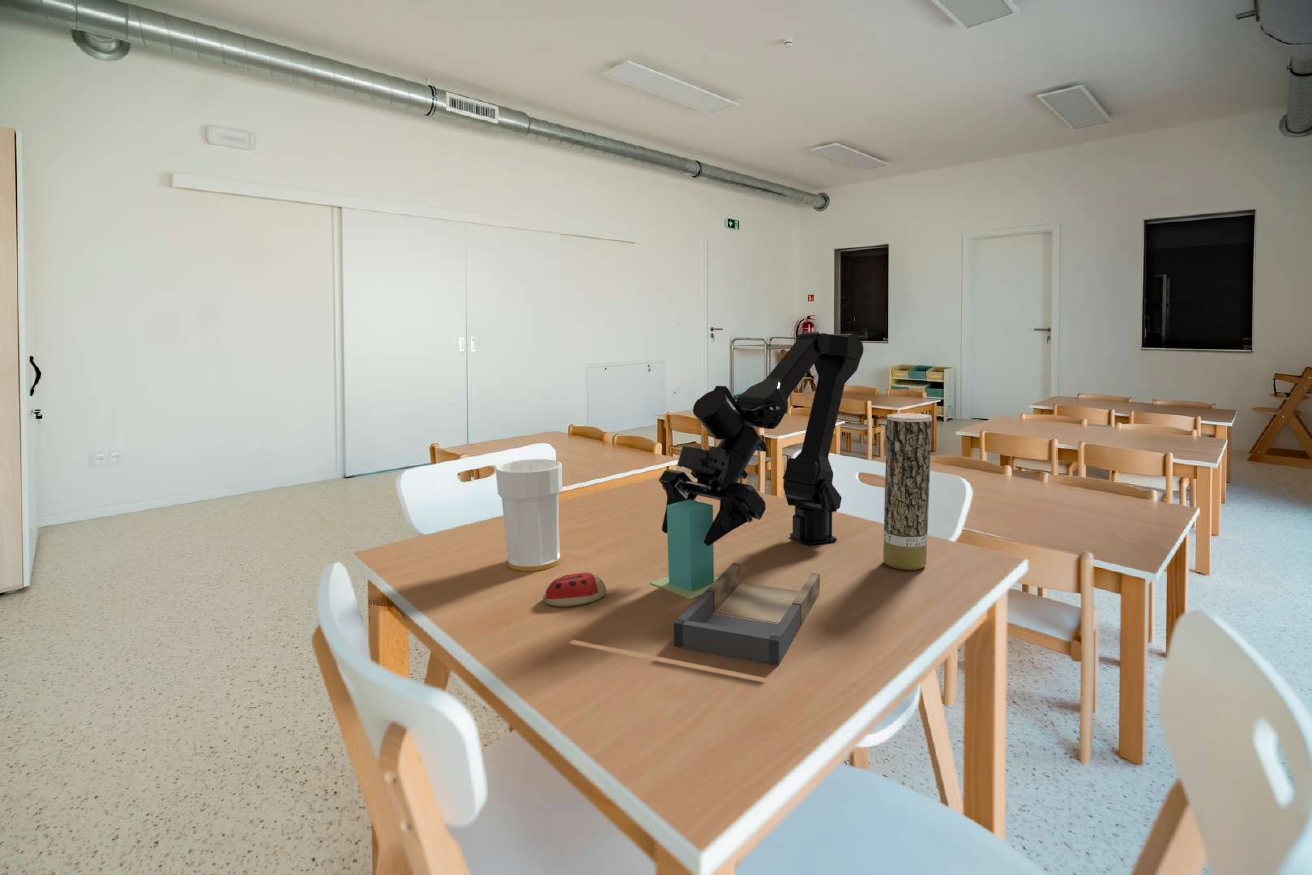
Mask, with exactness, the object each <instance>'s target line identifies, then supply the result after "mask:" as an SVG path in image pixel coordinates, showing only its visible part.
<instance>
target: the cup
mask: <svg viewBox="0 0 1312 875" xmlns="http://www.w3.org/2000/svg"><path fill="white" fill-rule="evenodd" d="M495 478H496V485H497V486H496V488H497V494H498V495H499V497H500V498H501V502H502V504H501V506H502V513H503V515H502V516H503V523H504V524H503V525H504V535H505V544H506V546H505V547H506V554H507V555H506V557H507V564H508V565H507V566H508V567H509V569H510V568H511V569H512V570H515V571H517V572H519V571H520V572H536V571H543V570H547V569H548V570H549V569H551V568H553V567H555V566H557V565H559V563H560V562H561V552H560V516H559V514H560V511H559V508H560V507H559V494H560V492H561V491H562V490H563V465H562V463H561V461H557V460H554V459H546V458H545V459H542V458H541V459H539V458H536V459H535V458H534V459H520V460H513V461H507V462H504V463H503V462H502V463H500V464H498V465H496V466H495Z"/></svg>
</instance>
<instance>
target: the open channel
mask: <svg viewBox="0 0 1312 875" xmlns="http://www.w3.org/2000/svg"><path fill="white" fill-rule="evenodd" d="M741 565H742V564H741V563H739V562H738V563H737V562H733V563H732V564H730V566H728V568H727V569H725V571H724V572H722V574H720V575H719V577H718V579H717V580H716V581H715V582H714V583H713V584H712V585H711V586H710V587H709V588H708V589H707V590H706V592H713V614H719V615H725V616H732V617H738V618H744V619H750V620H756V621H763V622H769V623H775V624H779V622H780V621H781V619H782V618H783V616H784V615H785V613H786V612H787V610H788V609H789V607H790V605H791V604H794V605H800V628H802V625H803V624H804V622H805V620H806V618H808V615H809V613H810V612H811V610H812V608H813V606H814V605H815V603H816V601H817V600H818V598H819V596H820V590H821V589H820V588H821V587H820V583H821V582H820V581H821V580H820V579H821V576H820V575H821V574H820V573H817V572H811V573H810V574H809V576H808V578H807V579H806V580H805V582H804V584H803V585H802V587H801V588H800V590H797V589H796V590H795V589H788V588H780V587H775V586H774V587H773V586H765V585H760V584H751V583H745V582H742V581H741V580H742V572H741V571H742V568H741V567H742V566H741Z"/></svg>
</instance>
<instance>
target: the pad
mask: <svg viewBox="0 0 1312 875" xmlns="http://www.w3.org/2000/svg"><path fill="white" fill-rule="evenodd" d="M718 578H719V577H718V576H715V575H714V582H715V581H716V580H717V579H718ZM712 584H713V583H711V584H709V585H706V586H704V587H701V588H698V589H696V590H693V591H689V590H687V589H684V588H681V587H679V586H676V585H673V584H671V583H669V575H668V576H666V577H663V578H659V579H656V580H654V581H652V582H650V585H653V586H656V587H659V588H661V589H664V590H666V591H669V592H670V593H673V594H676V595H678V596H680V597H683V598H687V599H689V600H693V599H695V598H699V597H700V596H701V595H702V594H703V593H704V592H705V591H706V590H707V589H708V588H709V587H710V586H711V585H712Z"/></svg>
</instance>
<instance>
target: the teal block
mask: <svg viewBox="0 0 1312 875" xmlns="http://www.w3.org/2000/svg"><path fill="white" fill-rule="evenodd" d="M666 505H667V504H666ZM713 508H714V505H713V504H711V503H706V502H703V501H698V500H686V501H682V502H678V503H674V504H671V505H667V532H668V533H667V559H668V560H667V563H668V564H667V566H668V567H667V568H668V576H669V583H671V584H673V585H676V586H679V587H681V588H684V589H687V590H689V591H693V590H696V589H698V588H701V587H704V586H706V585H709V584H711V583H714V576H715V567H714V564H715V562H714V558H715V557H714V553H715V552H714V543H713V544H711V545H710V546H706V545H705V544H704V539H705V537H706V535H707V532H708V531H709V529H710V527H711V525H712V523H713V521H714V509H713Z"/></svg>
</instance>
